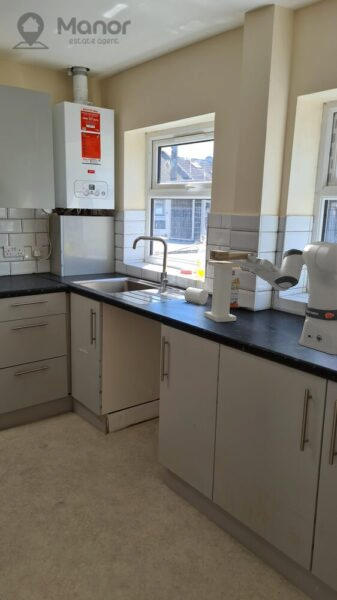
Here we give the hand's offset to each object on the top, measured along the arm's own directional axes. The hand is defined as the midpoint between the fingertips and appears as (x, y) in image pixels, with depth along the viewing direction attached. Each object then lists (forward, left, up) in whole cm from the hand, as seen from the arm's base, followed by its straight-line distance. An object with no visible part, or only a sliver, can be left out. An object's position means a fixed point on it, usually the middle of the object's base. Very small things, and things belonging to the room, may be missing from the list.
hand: (244, 254), depth 209 cm
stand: (0, +11, -30) cm, 32 cm away
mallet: (0, +6, -2) cm, 7 cm away
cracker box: (+22, -10, -30) cm, 38 cm away
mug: (+36, +3, -30) cm, 47 cm away
